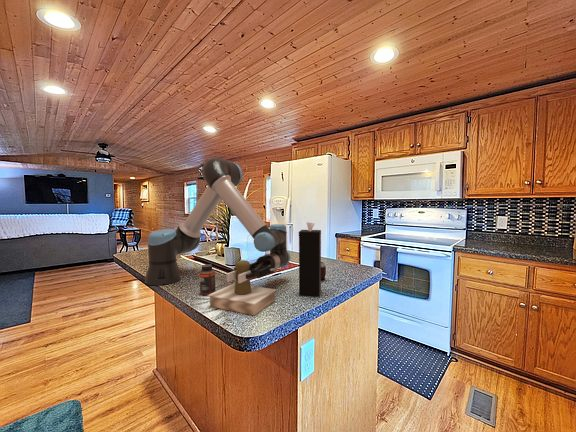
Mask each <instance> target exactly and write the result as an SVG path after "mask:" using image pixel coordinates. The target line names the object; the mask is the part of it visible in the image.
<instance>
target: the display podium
mask: <svg viewBox="0 0 576 432" xmlns="http://www.w3.org/2000/svg"><path fill="white" fill-rule="evenodd" d="M234 290H235V282H234V283H231V284H230V285H226V286H224V287H222V288H220V289H218V290H215V292H214V293H211V294H209V295H207V297H209V306H210V307H212V308H217V309H221V310H227V311H231V312H235V313H240V314H241V313H242V314H245V315H251V316H255V315H257V314H259V312H261V311H262V310H264V309H266V307H268V306H269V305H271V304H272V303H273V302H275V301H276V292H277V289H275V288H269V287H264V286H263V287H262V286H254V285H251V292H250V293H248V294H236V293H234Z"/></svg>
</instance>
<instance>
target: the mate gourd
mask: <svg viewBox="0 0 576 432" xmlns="http://www.w3.org/2000/svg"><path fill="white" fill-rule="evenodd" d="M326 274H327V267H326V264H325V262H323V261H321V281H326Z"/></svg>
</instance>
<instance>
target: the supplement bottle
mask: <svg viewBox="0 0 576 432" xmlns="http://www.w3.org/2000/svg"><path fill="white" fill-rule="evenodd" d="M216 291H217V290H216V271H215V270H214V269H213V265H212V263H211V264H210V263H207V264H202V265H201V270H200V271H199V294H200V295H202V296H208V295H209V294H211V293H214V292H216Z"/></svg>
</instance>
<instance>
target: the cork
mask: <svg viewBox="0 0 576 432" xmlns="http://www.w3.org/2000/svg"><path fill="white" fill-rule="evenodd" d="M250 264H251V263H250V262H249V261H248V260H245V259H242V260H237V261H236V262H235V264H234V268H235V269H236V270H237V273H236V279H235V282H234V283H235V290H234V293H236V294H248V293H250V292H251V286H252V285H251V280H250V279H251V278H250V279H248V280H246V281H244V282H242V283H238V275H239V274H242V273H244V272H247V271H248V270H249V268H250Z"/></svg>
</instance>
